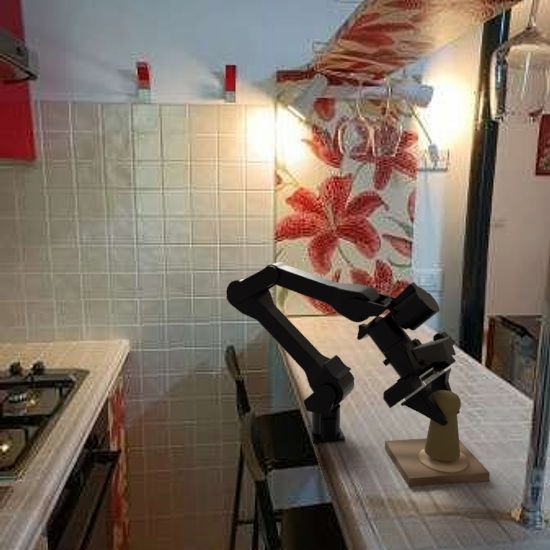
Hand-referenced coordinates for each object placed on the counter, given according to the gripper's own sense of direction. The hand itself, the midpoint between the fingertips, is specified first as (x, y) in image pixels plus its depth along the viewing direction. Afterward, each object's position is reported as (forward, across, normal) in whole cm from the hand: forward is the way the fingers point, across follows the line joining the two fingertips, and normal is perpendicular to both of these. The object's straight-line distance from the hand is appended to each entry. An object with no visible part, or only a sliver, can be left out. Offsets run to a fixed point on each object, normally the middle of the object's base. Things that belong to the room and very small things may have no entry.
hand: (451, 419), depth 93 cm
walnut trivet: (+5, 0, +9) cm, 10 cm away
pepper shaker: (+4, 0, +6) cm, 7 cm away
